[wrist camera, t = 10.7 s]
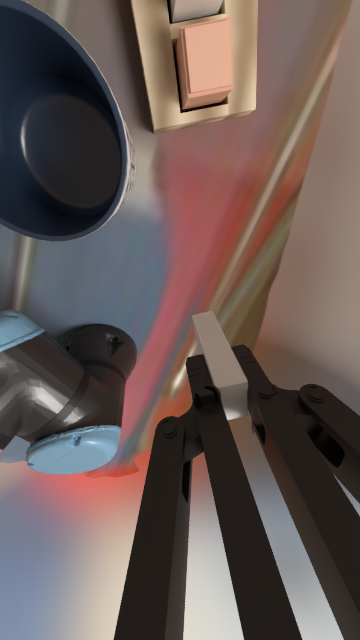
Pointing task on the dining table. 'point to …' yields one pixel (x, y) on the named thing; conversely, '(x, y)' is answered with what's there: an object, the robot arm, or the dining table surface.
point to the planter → (57, 132)
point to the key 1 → (205, 62)
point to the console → (160, 70)
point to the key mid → (193, 9)
